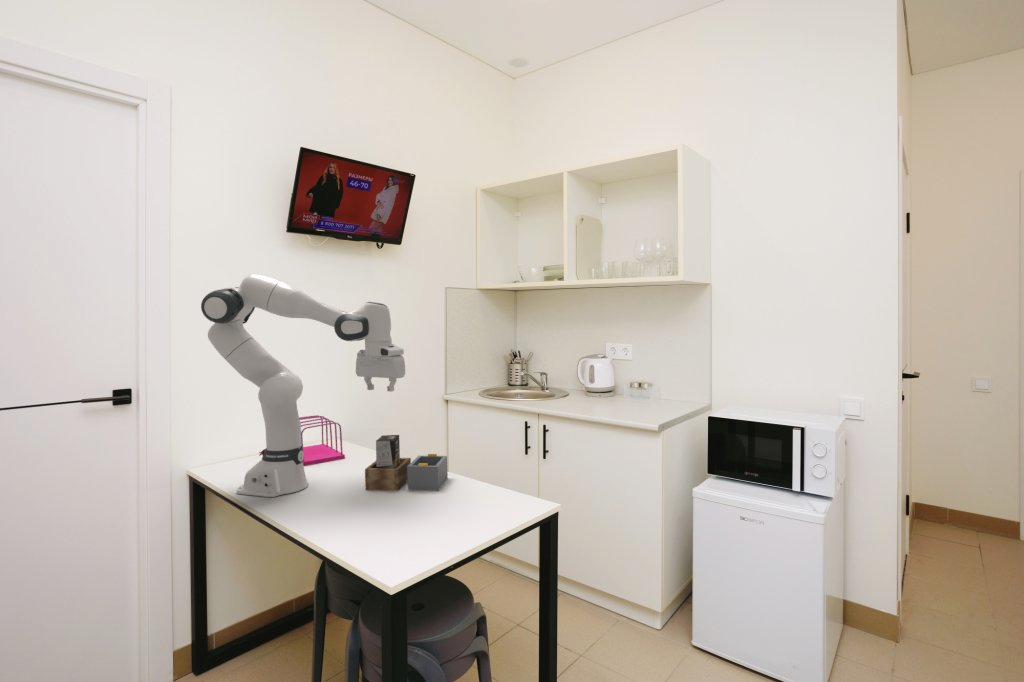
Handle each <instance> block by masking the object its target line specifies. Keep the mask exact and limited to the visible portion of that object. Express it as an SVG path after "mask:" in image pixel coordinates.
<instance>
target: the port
mask: <svg viewBox="0 0 1024 682" xmlns="http://www.w3.org/2000/svg"><path fill="white" fill-rule="evenodd" d="M407 472H408V481H407V490H408V491H437V492H438V491H440V489H441V488H442V486H443V485H444V484H445V482H446V481H447V480H448V476H449V475H448V455H438V453H428V454H427V455H417V456H416V457H415V459H413V461H411V463H410V464H409V465H408V466H407ZM446 479H447V480H446Z"/></svg>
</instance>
